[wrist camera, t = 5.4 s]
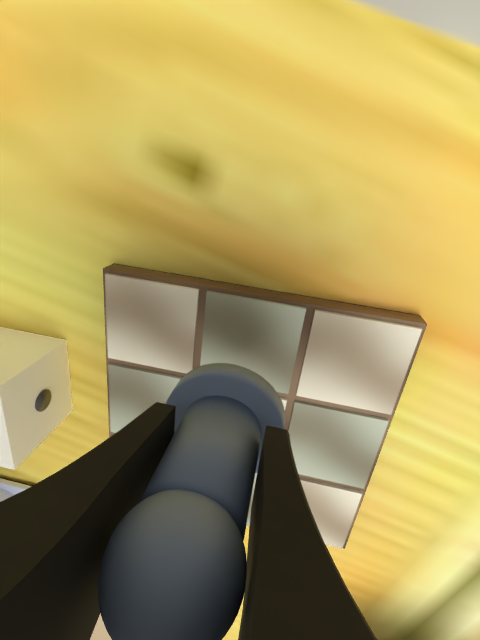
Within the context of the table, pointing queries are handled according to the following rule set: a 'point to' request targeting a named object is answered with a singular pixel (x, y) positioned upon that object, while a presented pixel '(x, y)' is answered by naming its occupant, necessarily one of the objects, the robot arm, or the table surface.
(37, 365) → the die
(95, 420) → the table surface
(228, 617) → the pawn
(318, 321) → the board
